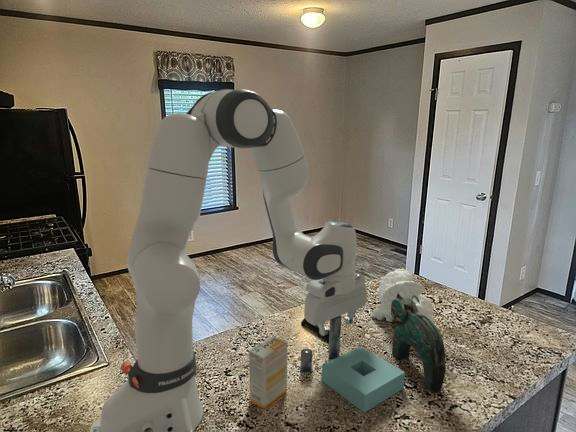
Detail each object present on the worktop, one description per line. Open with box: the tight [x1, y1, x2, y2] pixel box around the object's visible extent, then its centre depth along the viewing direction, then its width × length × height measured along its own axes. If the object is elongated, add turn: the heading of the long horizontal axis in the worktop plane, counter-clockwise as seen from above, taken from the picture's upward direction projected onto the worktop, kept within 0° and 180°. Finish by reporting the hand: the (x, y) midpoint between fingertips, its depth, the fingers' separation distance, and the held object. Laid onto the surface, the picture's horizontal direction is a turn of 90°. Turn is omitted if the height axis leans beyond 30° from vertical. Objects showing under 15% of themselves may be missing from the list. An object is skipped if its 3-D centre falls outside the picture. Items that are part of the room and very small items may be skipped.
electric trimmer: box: [300, 317, 330, 342], centre depth 119 cm, size 4×16×3 cm, turn 35°
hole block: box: [321, 346, 406, 413], centre depth 95 cm, size 14×14×4 cm
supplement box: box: [248, 335, 288, 410], centre depth 90 cm, size 8×5×13 cm, turn 141°
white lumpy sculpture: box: [370, 267, 435, 323], centre depth 128 cm, size 19×20×20 cm
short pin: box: [300, 347, 313, 373], centre depth 101 cm, size 3×3×5 cm
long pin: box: [328, 315, 342, 360], centre depth 106 cm, size 3×3×12 cm
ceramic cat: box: [391, 294, 447, 393], centre depth 100 cm, size 20×6×20 cm, turn 15°
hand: (336, 328), depth 106 cm, fingers open, 8 cm apart
